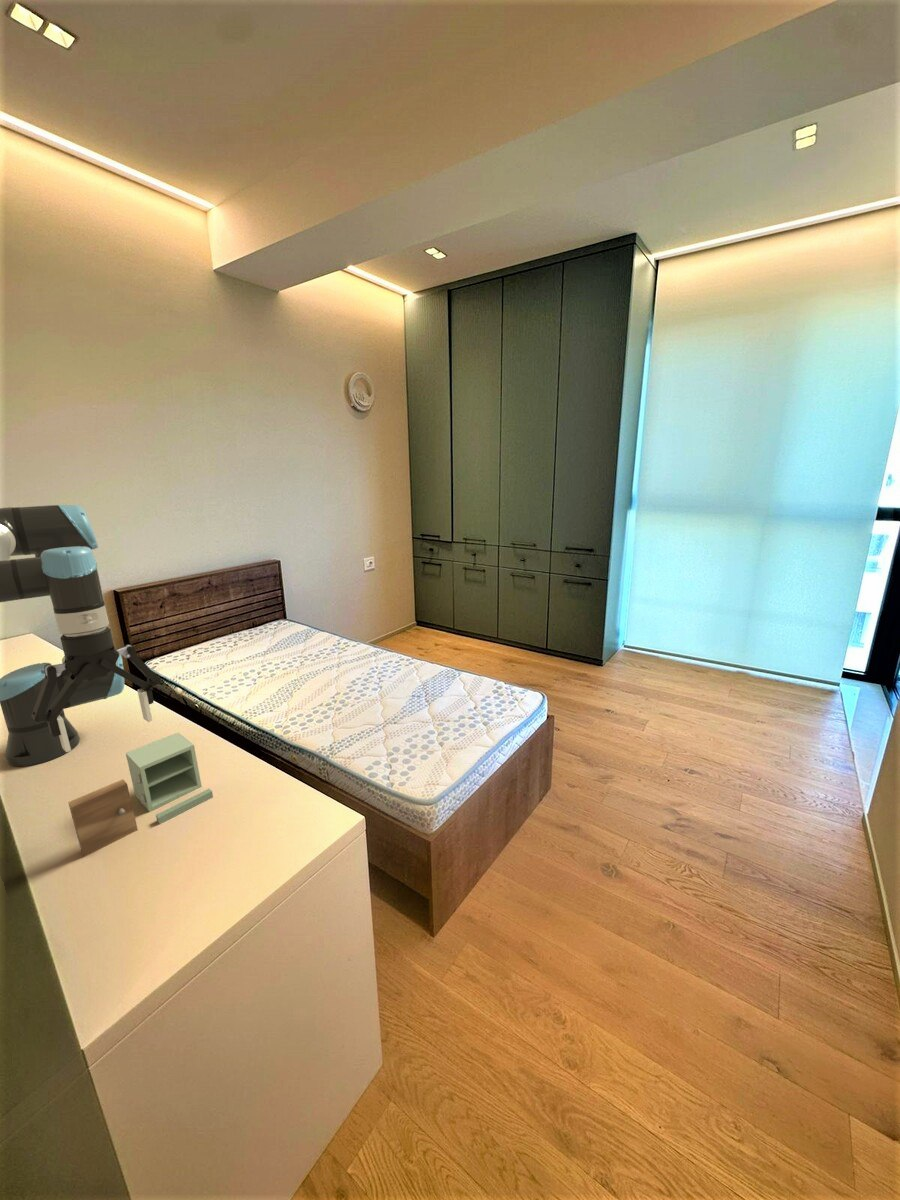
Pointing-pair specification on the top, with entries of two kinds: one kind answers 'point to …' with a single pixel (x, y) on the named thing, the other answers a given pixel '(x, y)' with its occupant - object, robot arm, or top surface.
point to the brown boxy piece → (103, 816)
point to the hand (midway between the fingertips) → (109, 733)
